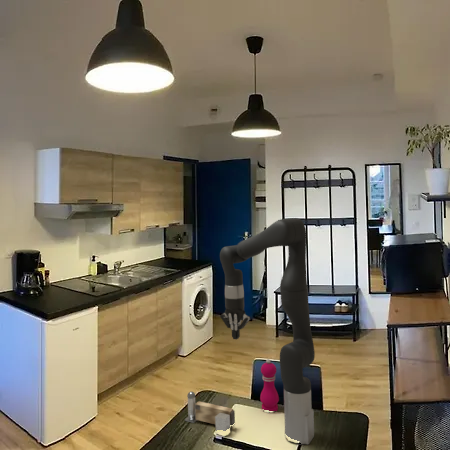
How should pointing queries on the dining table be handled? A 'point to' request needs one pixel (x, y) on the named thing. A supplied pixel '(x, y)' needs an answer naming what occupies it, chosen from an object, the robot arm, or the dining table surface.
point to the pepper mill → (269, 387)
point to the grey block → (222, 421)
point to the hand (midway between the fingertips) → (235, 338)
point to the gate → (212, 412)
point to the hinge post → (191, 408)
